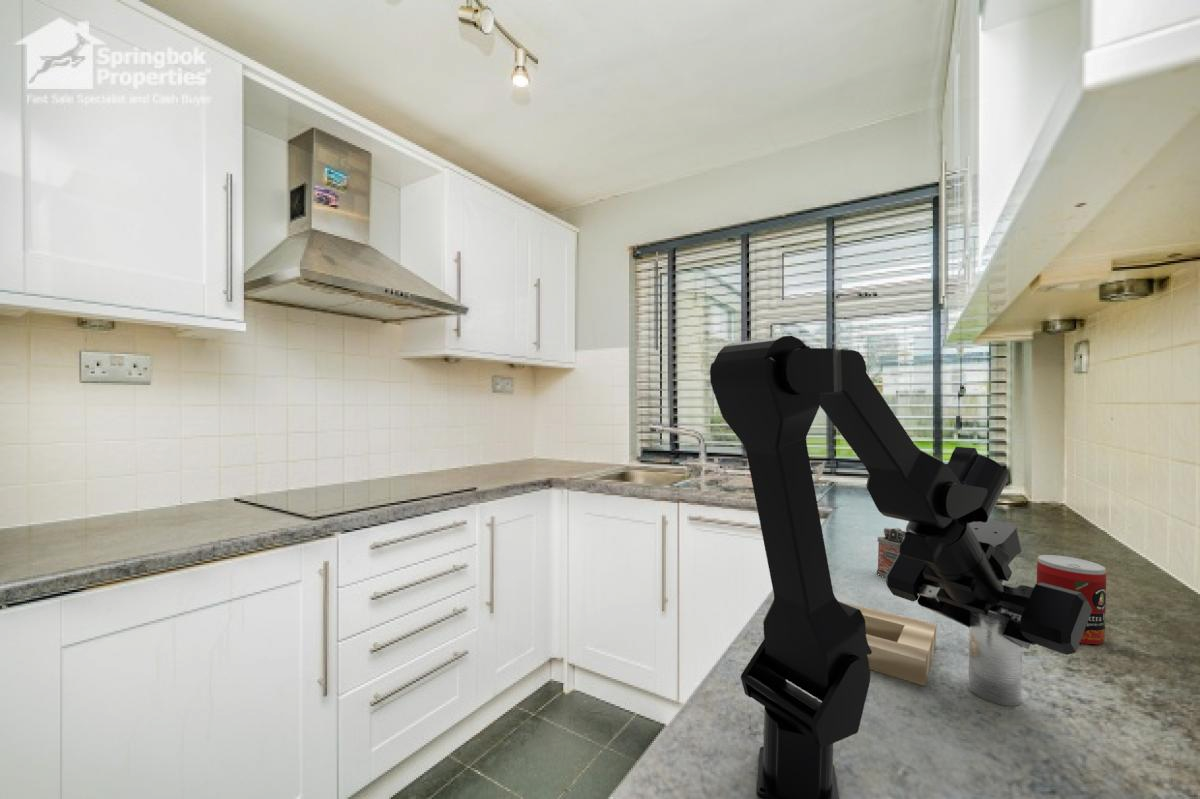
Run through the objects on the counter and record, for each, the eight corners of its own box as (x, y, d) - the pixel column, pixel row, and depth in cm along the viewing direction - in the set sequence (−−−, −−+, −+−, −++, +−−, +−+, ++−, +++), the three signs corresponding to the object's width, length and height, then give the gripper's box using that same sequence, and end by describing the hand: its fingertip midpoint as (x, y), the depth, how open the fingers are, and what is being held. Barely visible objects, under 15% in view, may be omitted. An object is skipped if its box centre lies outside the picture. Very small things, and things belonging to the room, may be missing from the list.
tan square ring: (925, 686, 62) (925, 661, 62) (805, 649, 71) (805, 627, 71) (936, 645, 74) (936, 624, 74) (831, 618, 82) (831, 599, 82)
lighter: (872, 573, 106) (873, 525, 106) (883, 572, 107) (885, 523, 107) (910, 587, 98) (912, 534, 98) (922, 584, 100) (923, 533, 100)
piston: (1030, 710, 58) (1032, 603, 58) (975, 700, 60) (978, 596, 60) (1011, 687, 63) (1013, 588, 63) (961, 678, 65) (963, 582, 65)
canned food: (1082, 648, 74) (1084, 571, 74) (1023, 625, 82) (1024, 555, 82) (1118, 643, 76) (1120, 568, 76) (1057, 621, 84) (1058, 553, 84)
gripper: (1085, 514, 51) (1127, 608, 57) (900, 486, 68) (946, 560, 73) (1047, 606, 48) (1095, 698, 53) (861, 552, 64) (911, 626, 69)
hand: (1001, 635), depth 62 cm, fingers closed on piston, 5 cm apart
